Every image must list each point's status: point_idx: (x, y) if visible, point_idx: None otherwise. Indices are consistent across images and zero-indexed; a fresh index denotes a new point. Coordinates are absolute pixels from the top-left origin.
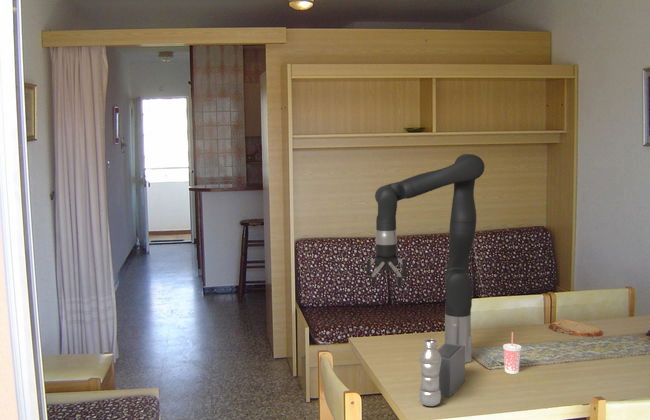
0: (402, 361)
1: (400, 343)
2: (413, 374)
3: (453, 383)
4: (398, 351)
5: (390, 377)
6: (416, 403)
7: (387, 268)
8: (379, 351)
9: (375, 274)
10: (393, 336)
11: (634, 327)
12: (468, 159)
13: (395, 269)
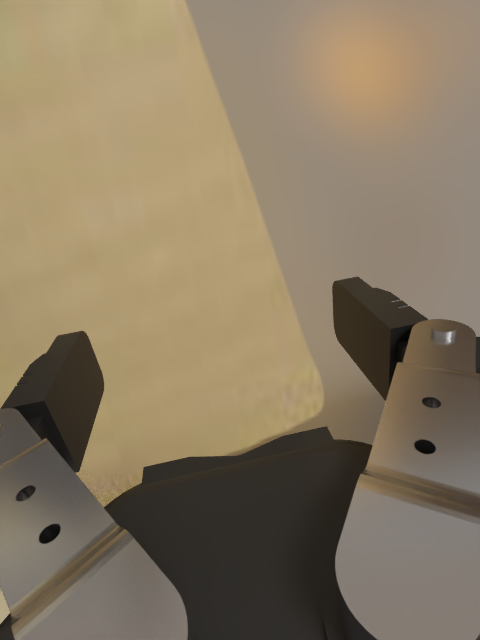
0: (139, 231)
1: (181, 400)
2: (60, 80)
3: None
4: (173, 329)
5: (145, 21)
6: None
7: (219, 490)
8: (235, 316)
9: (417, 350)
10: (213, 450)
11: None
12: None
13: (10, 493)
